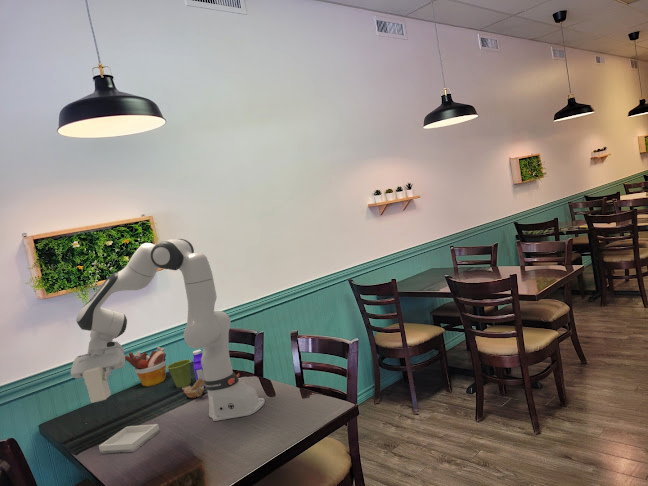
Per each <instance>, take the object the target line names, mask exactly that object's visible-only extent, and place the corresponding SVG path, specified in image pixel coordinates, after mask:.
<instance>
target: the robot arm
mask: <svg viewBox="0 0 648 486" xmlns="http://www.w3.org/2000/svg"><path fill="white" fill-rule="evenodd" d="M159 268H160V269H164V270H170V271H178V270H179V271H180V272H181V274H182V276H183V277H182V278H183V281H184V288H185V293H186V299H187V321H186V326H185V329H184V331H183V340H184V343H186V345H187V346H188V347H190V348H191V349H194V350H199V349H202V358H201V364H202V368H203V373H204V377H205V380H204V382H205V389H206V392H207V397H208V398H207V399H208V409H209V410H208V417H210V418H211V419H212V421H213V422H216V421H222V420H223V421H224V420H229V419H235V418H239V417H248V416H251V415H252V414H254V413H256V412H258V411H259V410H260V409H261V408H262V407H263V406H264V405H265V403H266V401H265V398H264V397H259V395H258V393H257V391H256V389H255V388H254V387H253V386H250V385H248V384H246V383H244V382H242V381H240V380H239V377H240V373H239V372H238V373H237V374H236V373H235V372H234V371H233V366H232V362H231V361H232V360H231V358H230V350H229V349H230V348H229V341H230V339H229V338H230V337H229V331H230V328H231V324H232V323H231V318H230V316H229V315H228V314H227V313H226V312H225V311H222V310H215V304H216V301H217V297H218V296H217V290H216V286H215V282H214V281H215V280H214V275H213V271H212V269H211V265H210V262H209V260H208V257H207V256H206V255H205V254H204V253H200V252H195V248H194V246H193V245H192V243H191V242H190V241H188V240H187V239H184V238H177V239H175V238H170V239H166V240H162V241H159V242H158V243H156V244H154V243H151V242H144V243H142V244H141V245H140V246H139V247H138V248H137V249H136V250H135V252H134V253H133V254H132V256H131V257H130V259H129V261H128V263H127V264H126V265H125V266H124V267H123V268H122V269H120V270H119V271H116V272H113V273H112V274H110V275H109V276H108V277H107V278H106V279H105V281H104V282H103V283H102V285H101V286H100V287H99V288H98V289H97V291H96V292H95V293H94V294H93V296H92V297H91V298H90V299H89V300H88V301H87V302H86V303H85V304H84V305H83V306H82V307H81V309H80V310H79V311H78V314H77V316H76V321H75V322H76V323H77V326H78V327H79V328H80V329H81V330H83V331H90V335H89V336H90V340H89V342H88V348H87V353H85V354H82V355H81V354H80V355H77V357H75V358H74V359H73V361H72V365H71V368H70V369H71V370H70V375H71V377H73V378H74V379H80V378H83V380H84V382H83V383H84V385H85V386H86V382H85V378H84V374H83V372H85V371H86V370H88V369H91V368H95V367H99V366H102V367H103V368H104V370H105V375H103V376H102V380H103V381H106V380H107V381H108V380H109V377H110V375H111V374H112V371H114V370H117V369H120V368H121V369H122V368H123V367H124V366H125V364H126V359H125V356H126V355H125V349H124V347H123V346H122V345H121V344H120V342H119V341H114V339H116V338H119V337H120V336H121V335H123V334H124V333H125V332H126V329H127V325H128V319H127V316H126V314H125V313H122V312H121V311H118V310H117V311H116V310H113V309H108V308H106V307H105V308H104V307H102V306H103V305H104V304H105V302H106V301H107V299H109V297H110V296H111V295H113V294H114V293H117V292H121V291H124V292H125V291H138V290H143V289H144V288H147V287H148V286H149V284H150V283H151V281H152V280H153V279H154V276H155V274H156V273H157V272H158V269H159Z"/></svg>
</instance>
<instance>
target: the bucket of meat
mask: <svg viewBox="0 0 648 486" xmlns="http://www.w3.org/2000/svg"><path fill="white" fill-rule="evenodd" d="M156 349H157V350H152V351H151V353H150V355H149V354H148V353H147V352H145V351H144V352H143V353H141V350H138V351H137V352H136V353H135V354H134V353H133V352H129V354H128V355H125V361H127V363H129V365H131V366H132V367H134V371H135V373H136V375H137V377H138V379H139V381H140V383H141V385H142V386H143V387H148V388H149V387H153V386H157V385H159V384H162V383H163V382H165V379H166V377H167V374H166V373H167V372H166V371H167V368H166V367H167V366H166V364H167V360H166V355H167V353H165V352H164V351H166V350H165V348H164V347H160V346H157V347H156Z"/></svg>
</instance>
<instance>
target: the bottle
mask: <svg viewBox="0 0 648 486" xmlns="http://www.w3.org/2000/svg"><path fill="white" fill-rule="evenodd" d="M192 355H193V360H192V362H193V372H194V375H195V378H196V382H197V381H198V379H199V378H201V379H203V380H205V377H204V373H203V368H202V364H201V358H202V355H203V350H201V349H195V350H194V351H192ZM204 387H205V386H204ZM205 388H206V387H205Z"/></svg>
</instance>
